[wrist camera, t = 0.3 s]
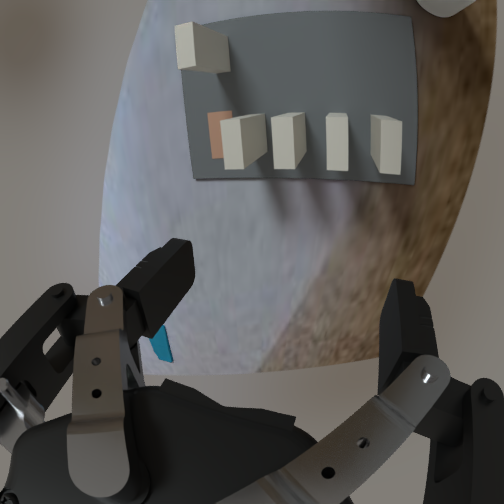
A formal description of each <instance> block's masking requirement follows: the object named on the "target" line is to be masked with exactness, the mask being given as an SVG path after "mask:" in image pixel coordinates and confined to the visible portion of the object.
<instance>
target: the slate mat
mask: <svg viewBox="0 0 504 504" xmlns="http://www.w3.org/2000/svg"><path fill="white" fill-rule="evenodd" d="M202 26H205V27H207V28H209V29H212V30H214V31H216V32H219V33H221V34H223V35H225V36H228V46H229V58H230V69H231V72H223V73H208V72H200V71H191V70H181V74H182V84H183V94H184V104H185V113H186V122H187V131H188V139H189V148H190V156H191V163H192V171H193V178H194V179H200V178H312V179H337V180H355V181H371V182H385V183H397V184H408V185H414V182H415V170H416V154H417V123H418V103H417V73H416V58H415V46H414V36H413V28H412V20H411V17H409V16H401V15H393V14H384V13H372V12H356V11H303V12H286V13H274V14H265V15H256V16H249V17H242V18H235V19H229V20H224V21H218V22H213V23H208V24H204V25H202ZM286 113H305V124H306V148H307V152H306V153H305V155H304V156H303V158H302V159H301V161H300V162H299V164H298V165H297V167H296V168H295V169H274V158H273V142H272V126H271V117H274V116H278V115H282V114H286ZM329 113H346V114H347V117H348V171H337V170H327V145H326V116H327V115H328V114H329ZM249 114H265V122H266V136H267V151H268V152H266V153H265V154H264V155H262V156H261V157H260V158H258V159H257V160H256V161H254V162H253V163H252V164H250V165H249V166H248V167H246V168H245V169H227V170H225V165H224V156H223V146H222V136H221V125H220V121H221V120H225V119H230V118H234V117H239V116H244V115H249ZM371 115H383V116H389V117H391V118H394V119H397V120H399V121H402V153H401V172H400V175H397V174H385V173H380V172H379V170H378V168H377V166H376V164H375V162H374V160H373V158H372V156H371V154H370V151H371Z"/></svg>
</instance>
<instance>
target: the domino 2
mask: <svg viewBox="0 0 504 504" xmlns="http://www.w3.org/2000/svg"><path fill="white" fill-rule="evenodd" d="M220 125H221V136H222V146H223V156H224V165H225V170H227V169H245V168H246V167H248V166H249V165H250V164H252V163H253V162H254V161H256V160H257V159H258V158H260V157H261V156H262V155H264V154H265V153H266V152H268V151H267V136H266V122H265V114H249V115H244V116H239V117H234V118H230V119H225V120H221V121H220Z"/></svg>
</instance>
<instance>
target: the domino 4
mask: <svg viewBox="0 0 504 504" xmlns="http://www.w3.org/2000/svg"><path fill="white" fill-rule="evenodd" d="M326 145H327V170H337V171H348V117H347V114H346V113H329V114H328V115H327V116H326Z"/></svg>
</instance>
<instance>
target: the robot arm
mask: <svg viewBox="0 0 504 504" xmlns="http://www.w3.org/2000/svg"><path fill="white" fill-rule="evenodd" d="M194 279H195V266H194V257H193V247H192V243H191V242H190V241H188V240H182V239H177V238H172V239H171V240H169V241H168V242H167V243H166V244H165V245H164V246H163V247H162V248H161V247H160V248H158V249H156V250H154V251H152V252H150V253H149V254H148V255H147V256H146V257H144V258H143V259H142V261H140V262H139V263H138V264H137V265H136V267H134V268H133V269H132V270H131V271H130V272H129V273H128V274H127V275H126V276H125V277H124V278H123V279H122V280H121V281H120V282H119V283H118V284H117V285H116V286H114V285H105V286H101V287H99V288H97V289H95V290H94V291H93V292H92V293H91V294H90V295H89V296H88V295H75V293H74V290H73V287H72V286H71V285H70V284H67V283H60V284H56V285H54V286H52V287H50V288H49V289H48V290H47V291H46V292H45V293H44V294H43V295H42V296H41V297H40V298H39V299H38V300H37V301H36V302H35V303H34V304H33V305H32V306H31V307H30V308H29V309H28V310H27V311H26V312H25V313H24V314H23V315H22V316H21V317H20V318H19V319H18V320H17V321H16V322H15V323H14V324H13V325H12V327H11V328H10V329H9V330H8V331H7V332H6V333H5V334H4V335H3V336H2V337H1V339H0V444H1V445H2V446H4V447H5V448H6V449H7V450H8V451H9V452H10V453H11V454H12V456H11V464H10V469H9V474H8V478H7V481H6V484H5V486H4V488H3V490H2V491H1V492H0V504H354V503H353V502H352V500H351V498H350V496H349V495H350V494H351V493H352V492H354V491H355V490H356V489H357V488H358V487H359V486H360V485H362V484H363V483H364V482H365V481H366V480H367V479H368V478H369V477H370V476H371V475H372V474H373V473H374V472H375V471H376V470H378V468H380V466H382V465H383V463H385V461H386V460H387V459H388V458H389V457H390V456H391V455H392V454H393V453H394V452H395V451H396V450H397V449H398V448H399V447H400V446H401V445H402V443H403V442H404V441H405V440H406V439H407V438H408V437H409V435H410V434H411V433H412V432H415V433H418V434H420V435H422V436H425V437H428V438H430V439H431V440H430V454H429V464H428V473H427V481H426V488H425V495H424V501H423V504H504V396H503V392H502V390H501V388H500V387H499V385H498V384H497V383H495V382H494V381H492V380H491V379H487V378H480V379H478V380H476V381H475V382H474V383H473V384H472V386H470V385H468V384H465V383H463V382H460V381H458V380H456V379H454V378H452V377H451V376H450V371H449V369H448V367H447V365H446V364H445V363H444V362H443V361H442V360H441V359H439V356H438V349H437V344H436V337H435V331H434V328H433V321H432V316H431V311H430V307H429V305H428V304H427V302H426V301H425V299H424V298H423V297H419V296H416V294H415V289H414V284H413V282H412V281H406V280H401V279H395V278H394V279H393V281H392V283H391V286H390V289H389V292H388V295H387V298H386V301H385V304H384V307H383V309H382V313H381V317H380V326H379V376H378V377H379V378H378V395H379V396H377V395H375V396H374V397H372V398H371V399H370V400H369V401H367V403H365V404H364V405H363V406H362V407H361V408H360V409H358V411H356V412H355V413H354V414H353V415H352V416H350V417H349V418H348V419H347V420H346V421H344V423H342V424H341V425H340V426H338V427H337V428H336V429H335V430H334V431H332V432H331V433H330V434H328V435H327V436H326V437H325V438H323V439H322V440H320V441H319V442H317V441H316V440H315V439H314V438H313V437H312V436H310V435H309V434H308V433H306V432H305V431H303V430H302V429H300V428H298V427H296V426H294V422H295V419H296V417H295V416H290V415H286V414H281V413H277V412H273V411H269V410H265V409H256V408H236V407H225V406H222V405H220V404H219V403H217V402H215V401H214V400H212V399H210V398H209V397H207V396H205V395H204V394H202V393H201V392H199V391H197V390H196V389H194V388H191V387H188V386H185V385H183V384H180V383H177V382H174V381H172V380H169V379H165V380H164V382H163V383H162V385H161V386H145V382H144V376H143V369H142V361H141V352H140V344H139V341H138V339H139V338H140V337H141V336H145V337H147V338H150V339H153V337H154V336H155V335H156V333H157V332H158V331H159V329H160V328H161V327H162V325H163V324H164V323H165V321H166V320H167V318H168V317H169V316H170V314H171V313H172V312H173V310H174V309H175V308H176V306H177V305H178V304H179V302H180V301H181V300H182V298H183V297H184V296H185V294H186V293H187V292H188V291H189V289H190V288H191V286H192V285H193V282H194ZM56 327H57V329H58V331H59V333H60V335H61V336H60V338H59V339H58V340H57V341H56V342H55V344H54V345H53V346H52V347H51V348H50V350H49V351H48V352H47V353H46V355H44V353H43V343H44V341H45V340H46V339H47V338H48V337H49V335H50V334H51V333H52V332H53V331H54V330H55V328H56ZM72 373H73V384H72V385H73V386H72V413H70V414H67V415H64V416H61V417H58V418H56V419H53V420H50V421H47V422H45V421H44V417H45V412H46V410H47V409H48V407H49V406H50V404H51V403H52V401H53V400H54V398H55V397H56V396H57V394H58V393H59V391H60V390H61V389H62V387H63V386H64V384H65V383H66V382H67V380H68V379H69V377H70V376H71V375H72Z"/></svg>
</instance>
